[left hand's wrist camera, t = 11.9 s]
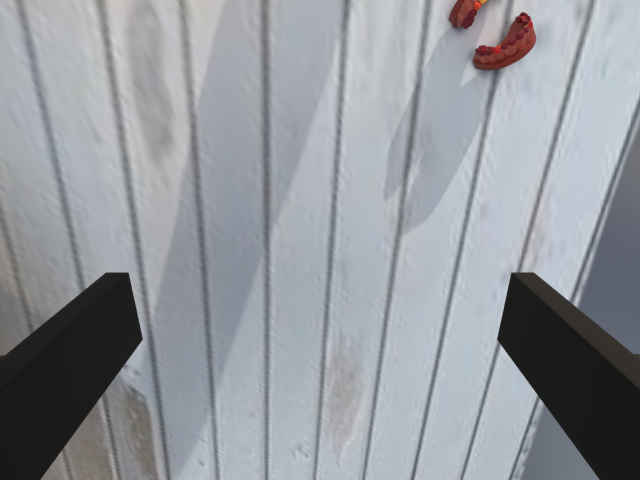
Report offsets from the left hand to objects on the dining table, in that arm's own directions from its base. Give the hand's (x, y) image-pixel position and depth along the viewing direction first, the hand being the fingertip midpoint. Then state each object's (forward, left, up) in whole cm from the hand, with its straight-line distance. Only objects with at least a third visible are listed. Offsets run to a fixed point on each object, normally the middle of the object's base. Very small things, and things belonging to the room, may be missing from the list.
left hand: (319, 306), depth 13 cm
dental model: (+12, +17, -30) cm, 37 cm away
